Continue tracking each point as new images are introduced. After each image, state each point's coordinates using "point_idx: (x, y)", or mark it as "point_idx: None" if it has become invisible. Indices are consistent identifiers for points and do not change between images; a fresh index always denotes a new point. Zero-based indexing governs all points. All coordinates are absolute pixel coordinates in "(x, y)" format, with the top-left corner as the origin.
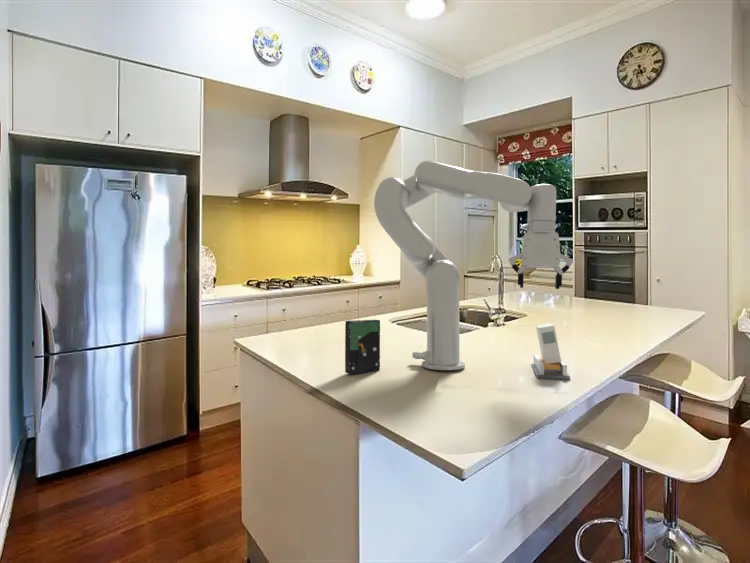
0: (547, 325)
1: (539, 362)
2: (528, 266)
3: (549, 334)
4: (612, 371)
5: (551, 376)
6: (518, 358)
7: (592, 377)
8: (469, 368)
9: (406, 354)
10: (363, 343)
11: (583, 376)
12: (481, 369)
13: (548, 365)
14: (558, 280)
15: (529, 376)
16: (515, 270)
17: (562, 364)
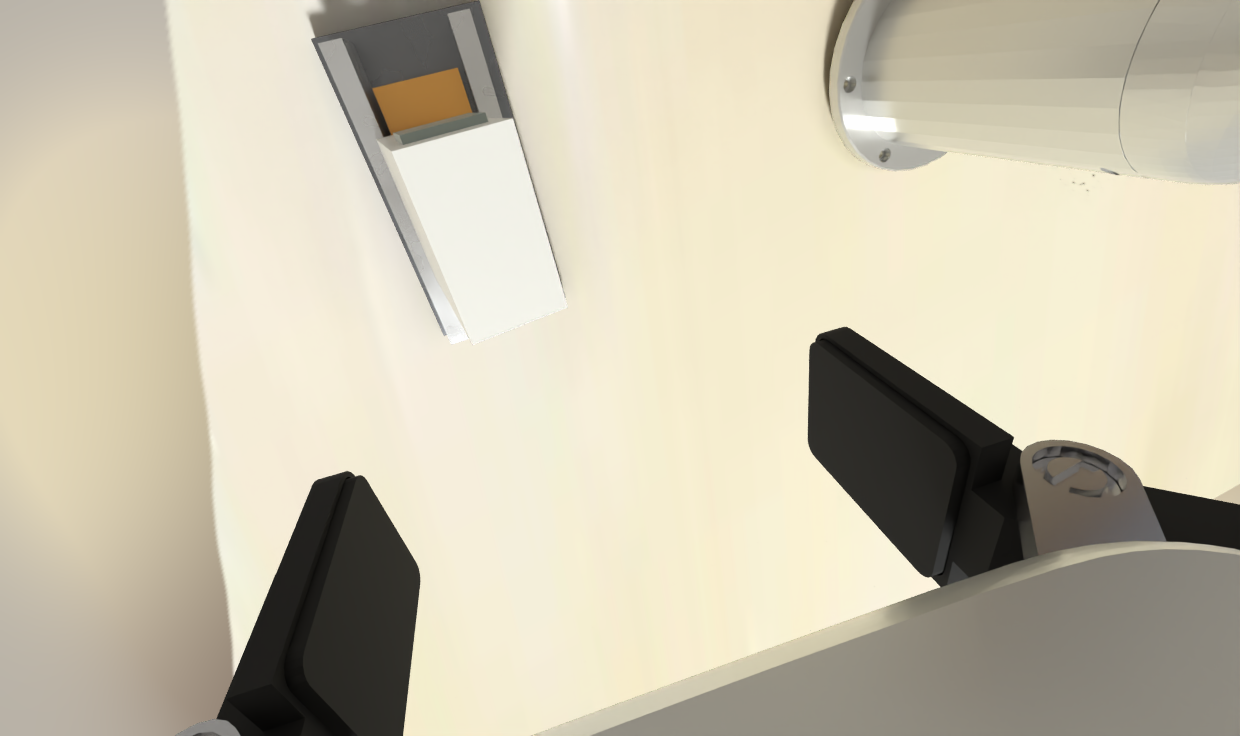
0: (466, 225)
1: (485, 70)
2: (1070, 554)
3: (431, 125)
4: (207, 382)
5: (408, 18)
6: (639, 447)
7: (238, 183)
8: (803, 126)
9: (1027, 305)
10: None
11: (288, 187)
12: (753, 128)
13: (436, 76)
14: (292, 572)
15: (527, 52)
16: (1163, 495)
17: (347, 55)
